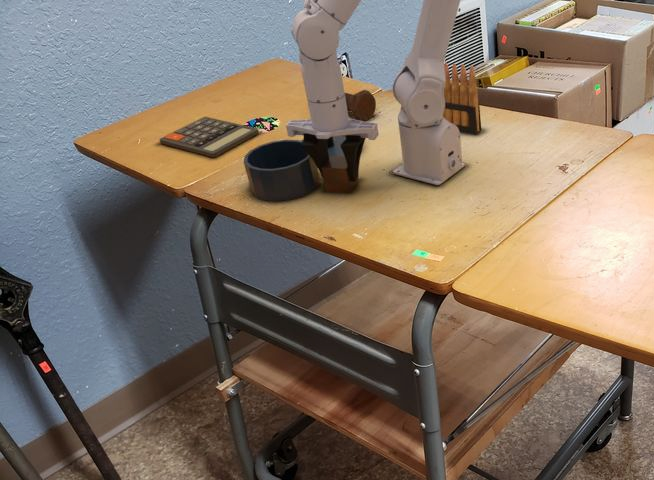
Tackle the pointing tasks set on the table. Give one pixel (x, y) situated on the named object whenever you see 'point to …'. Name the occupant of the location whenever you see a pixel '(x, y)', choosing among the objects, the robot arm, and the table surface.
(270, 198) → the pot
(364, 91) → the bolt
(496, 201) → the table surface
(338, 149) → the lid
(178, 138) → the calculator
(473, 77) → the ammunition clip
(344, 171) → the block
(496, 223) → the table surface
